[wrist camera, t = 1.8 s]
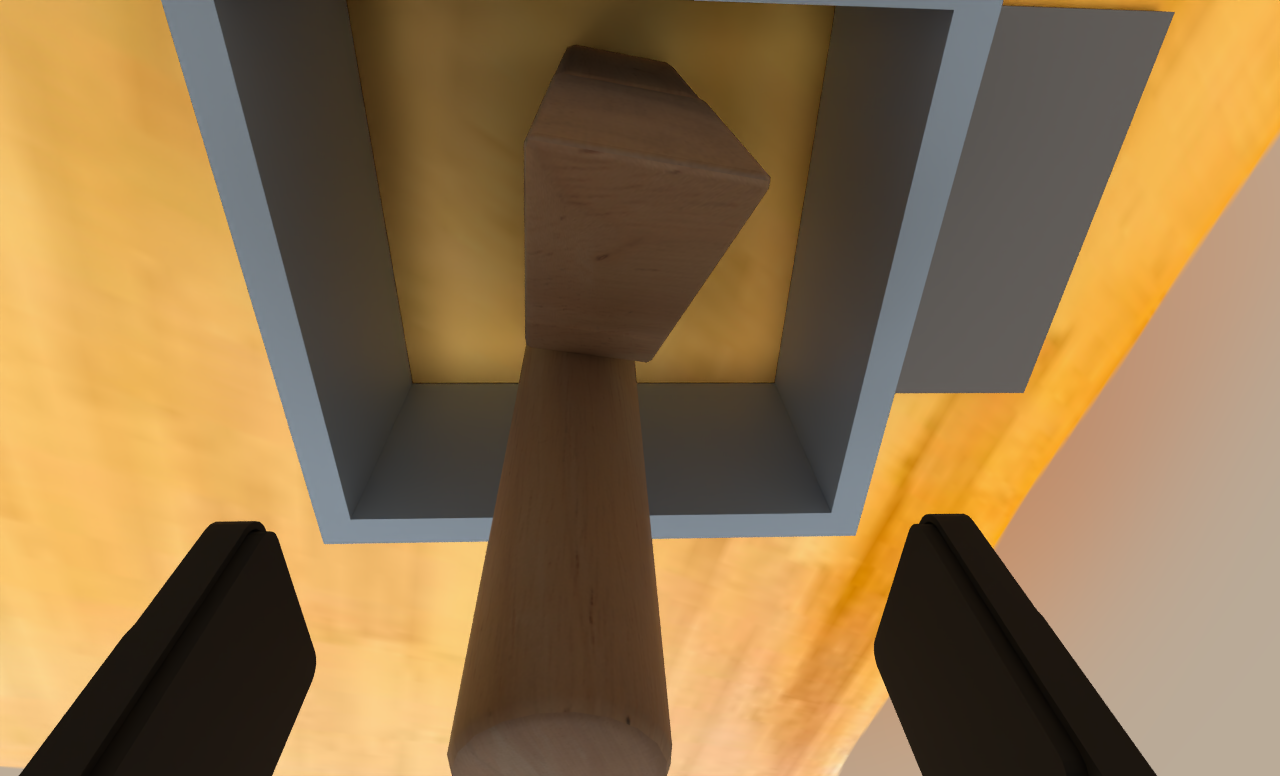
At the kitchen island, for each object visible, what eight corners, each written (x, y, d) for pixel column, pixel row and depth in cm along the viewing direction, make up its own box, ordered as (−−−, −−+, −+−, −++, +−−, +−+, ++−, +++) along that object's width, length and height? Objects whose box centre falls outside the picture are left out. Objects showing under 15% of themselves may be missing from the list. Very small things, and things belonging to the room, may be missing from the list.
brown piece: (676, 63, 21) (874, 278, 6) (622, 353, 27) (654, 847, 12) (562, 41, 21) (468, 214, 6) (530, 341, 26) (439, 840, 11)
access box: (300, -61, 19) (136, -82, 12) (875, -38, 20) (1015, -46, 13) (391, 404, 28) (324, 543, 21) (794, 403, 29) (855, 535, 22)
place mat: (914, 2, 21) (925, 2, 20) (1156, 11, 21) (1174, 12, 21) (832, 383, 28) (838, 393, 27) (1013, 383, 29) (1023, 392, 28)
